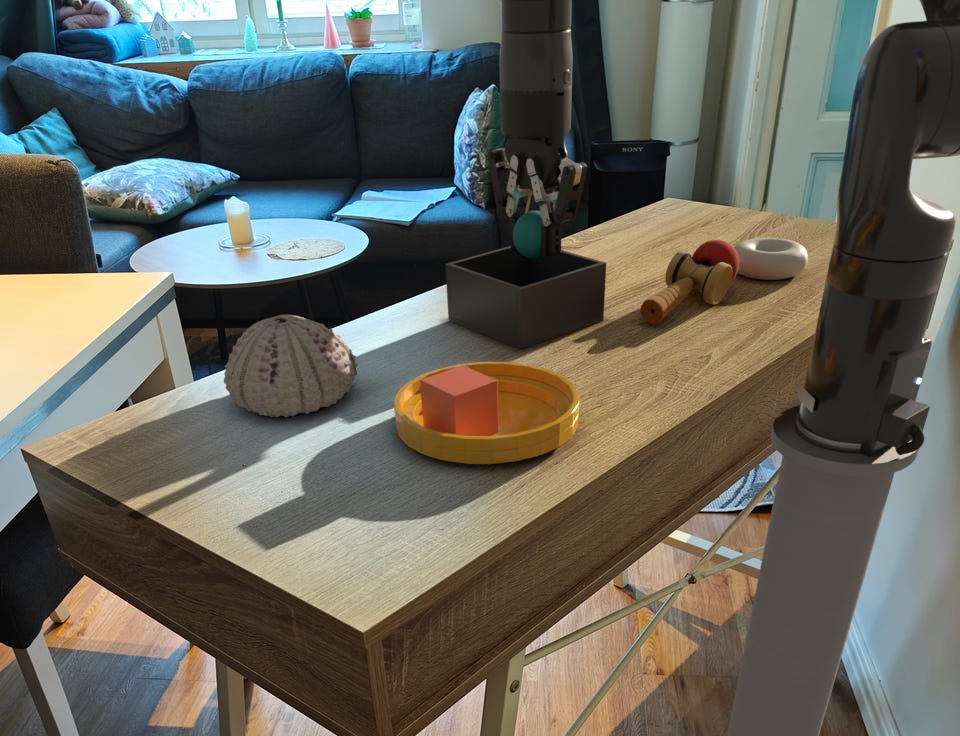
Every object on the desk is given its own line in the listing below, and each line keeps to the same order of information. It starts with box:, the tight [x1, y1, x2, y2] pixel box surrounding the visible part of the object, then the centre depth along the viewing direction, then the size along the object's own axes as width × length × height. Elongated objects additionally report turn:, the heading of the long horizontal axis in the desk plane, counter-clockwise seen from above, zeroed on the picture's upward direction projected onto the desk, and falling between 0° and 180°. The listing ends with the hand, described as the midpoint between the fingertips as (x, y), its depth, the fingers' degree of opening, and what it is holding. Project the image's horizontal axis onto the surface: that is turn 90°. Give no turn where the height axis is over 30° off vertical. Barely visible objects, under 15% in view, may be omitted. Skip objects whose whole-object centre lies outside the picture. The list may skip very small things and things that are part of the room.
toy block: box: [420, 365, 498, 436], centre depth 81 cm, size 5×5×5 cm
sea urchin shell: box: [223, 314, 359, 418], centre depth 89 cm, size 13×14×8 cm
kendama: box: [640, 239, 739, 326], centre depth 108 cm, size 8×6×18 cm
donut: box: [733, 237, 809, 281], centre depth 117 cm, size 10×4×10 cm
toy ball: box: [513, 210, 544, 259], centre depth 102 cm, size 5×5×5 cm
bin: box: [444, 245, 607, 350], centre depth 105 cm, size 13×13×7 cm
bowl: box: [393, 361, 580, 465], centre depth 84 cm, size 17×17×3 cm
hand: (535, 254), depth 103 cm, fingers closed on toy ball, 4 cm apart
